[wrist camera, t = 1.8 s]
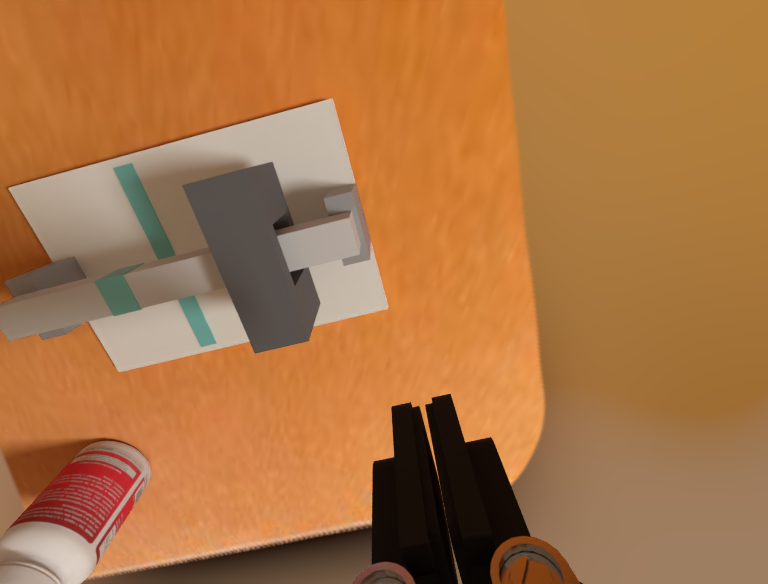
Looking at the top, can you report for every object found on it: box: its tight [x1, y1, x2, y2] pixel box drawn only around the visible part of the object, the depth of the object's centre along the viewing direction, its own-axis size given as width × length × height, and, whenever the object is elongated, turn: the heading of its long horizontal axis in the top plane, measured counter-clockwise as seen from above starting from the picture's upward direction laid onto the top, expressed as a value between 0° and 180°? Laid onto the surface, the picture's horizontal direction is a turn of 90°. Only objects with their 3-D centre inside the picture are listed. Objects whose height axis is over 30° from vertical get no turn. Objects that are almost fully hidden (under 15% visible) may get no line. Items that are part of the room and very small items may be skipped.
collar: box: [182, 162, 321, 353], centre depth 21 cm, size 9×3×5 cm, turn 14°
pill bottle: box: [0, 441, 151, 584], centre depth 28 cm, size 6×6×11 cm
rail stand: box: [0, 98, 388, 372], centre depth 24 cm, size 14×21×7 cm, turn 104°
